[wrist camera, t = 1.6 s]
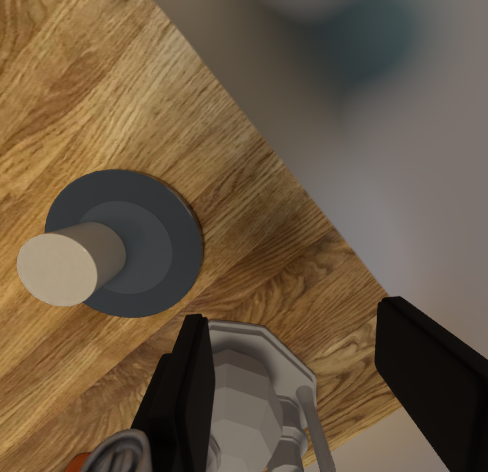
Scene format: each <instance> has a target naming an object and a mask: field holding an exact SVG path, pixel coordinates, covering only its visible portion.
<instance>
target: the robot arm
mask: <svg viewBox="0 0 488 472" xmlns="http://www.w3.org/2000/svg"><path fill="white" fill-rule="evenodd" d="M375 366H376V369H377V371H378V372H379V374H380V375H381V377H382V378H383V379H384V381H385V382H386V383H387V385H388V386H389V388H390V389H391V390H392V392H393V393H394V395H395V396H396V397H397V399H398V400H399V402H400V403H401V404H402V406H403V407H404V408H405V410H406V411H407V413H408V414H409V415H410V417H411V418H412V420H413V421H414V422H415V424H416V425H417V427H418V428H419V429H420V431H421V432H422V433H423V435H424V436H425V438H426V439H427V440H428V442H429V443H430V444H431V446H432V447H433V449H434V450H435V452H436V453H437V454H438V456H439V457H440V458H441V460H442V461H443V463H444V464H445V465H446V467H447V468H448V470H449V471H450V472H488V360H487V359H486V358H485V357H483V356H482V355H480V354H479V353H478V352H476V351H475V350H473V349H472V348H471V347H470V346H468V345H467V344H465V343H464V342H463V341H461V340H460V339H459V338H457V337H456V336H454V335H453V334H452V333H450V332H449V331H448V330H446V329H445V328H443V327H442V326H441V325H439V324H438V323H437V322H435V321H434V320H432V319H431V318H430V317H428V316H427V315H426V314H424V313H423V312H421V311H420V310H419V309H417V308H416V307H415V306H413V305H412V304H411V303H409V302H408V301H406V300H405V299H403V298H402V297H400V296H397V297H385V298H383V299H382V301H381V302H379V303H378V308H377V325H376V343H375ZM214 393H215V370H214V362H213V355H212V348H211V340H210V333H209V326H208V319H207V317H202V314H191V315H186V317H185V319H184V322H183V325H182V327H181V330H180V332H179V335H178V338H177V340H176V343H175V345H174V348H173V351H172V353H167V354H163V355H162V357H161V358H160V361H159V363H158V365H157V368H156V370H155V372H154V375H153V377H152V379H151V381H150V384H149V386H148V388H147V391H146V393H145V395H144V398H143V400H142V402H141V405H140V407H139V409H138V411H137V414H136V416H135V418H134V421H133V423H132V425H131V428H130V429H126V430H123V431H119V432H116V433H115V434H113V435H111V436H110V437H108V438H106V439H105V440H104V441H103V442H101V443H100V444H99V445H98V446H97V447H96V448H95V449H94V450H93V451H92V452H91V454H90V455H89V456H88V457H87V458H86V460H85V462H84V464H83V465H82V467H81V469H80V471H79V472H206V465H207V456H208V447H209V438H210V429H211V420H212V411H213V402H214Z"/></svg>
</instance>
